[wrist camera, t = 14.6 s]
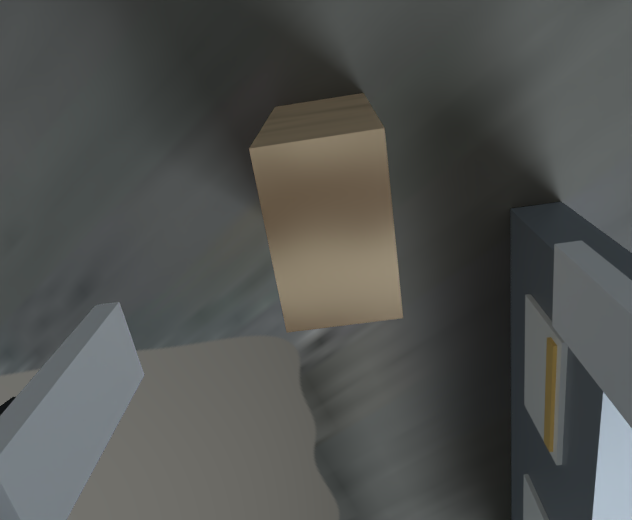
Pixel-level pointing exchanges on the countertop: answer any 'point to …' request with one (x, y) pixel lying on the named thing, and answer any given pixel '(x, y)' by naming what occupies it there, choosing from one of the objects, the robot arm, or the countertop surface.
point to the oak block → (328, 212)
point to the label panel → (560, 386)
